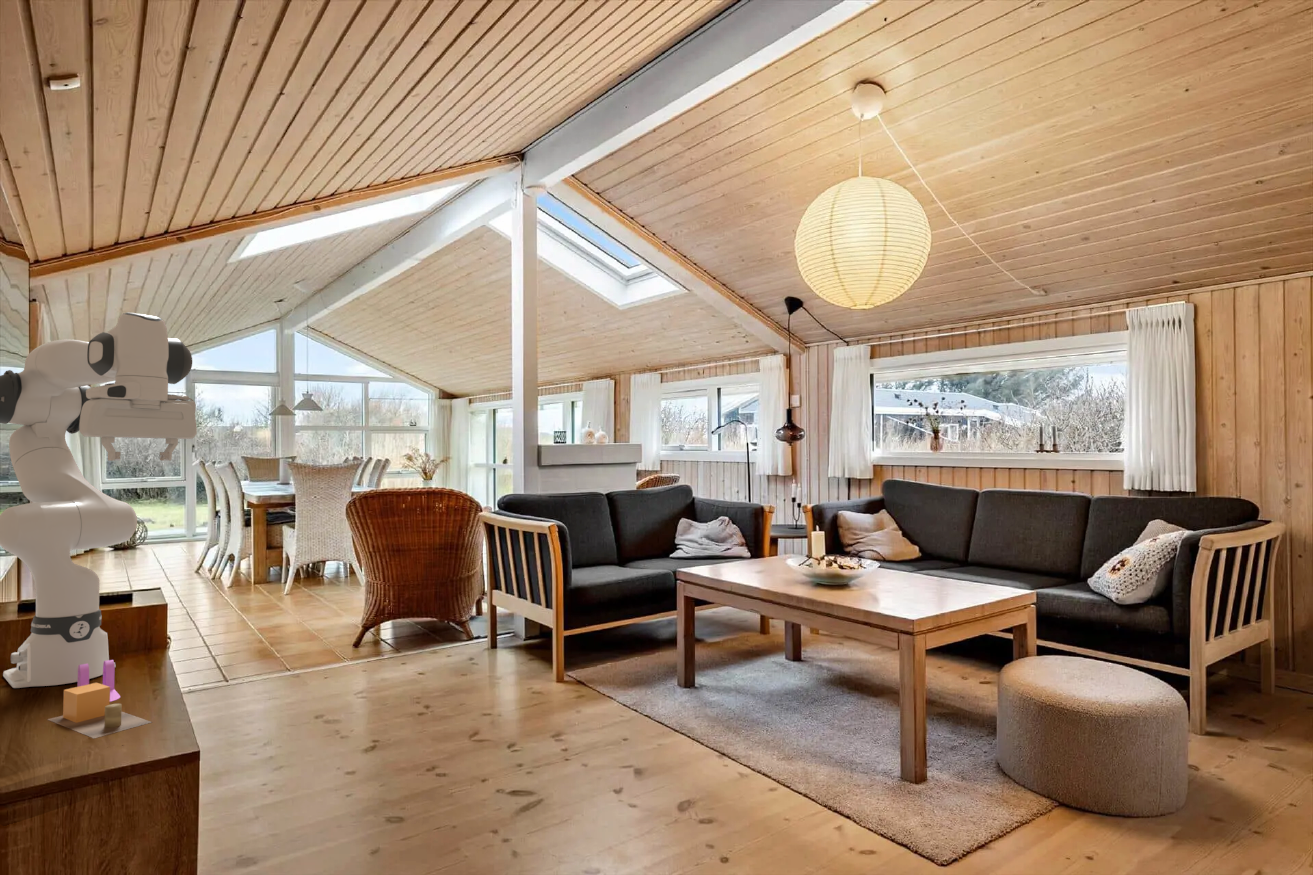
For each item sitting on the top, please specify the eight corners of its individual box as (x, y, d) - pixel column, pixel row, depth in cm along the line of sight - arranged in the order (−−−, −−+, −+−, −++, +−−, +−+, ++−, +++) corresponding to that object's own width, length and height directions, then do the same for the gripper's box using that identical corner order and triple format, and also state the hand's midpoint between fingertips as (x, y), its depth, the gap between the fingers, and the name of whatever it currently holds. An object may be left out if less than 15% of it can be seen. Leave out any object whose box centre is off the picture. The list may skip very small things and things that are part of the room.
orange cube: (63, 717, 136) (63, 689, 136) (96, 709, 140) (96, 682, 140) (76, 722, 133) (76, 694, 133) (109, 714, 138) (110, 686, 138)
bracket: (77, 697, 152) (77, 663, 152) (110, 691, 155) (111, 658, 156) (87, 713, 142) (88, 676, 143) (122, 706, 146) (123, 670, 146)
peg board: (46, 726, 135) (47, 699, 135) (104, 711, 143) (104, 686, 143) (93, 745, 126) (94, 717, 126) (152, 729, 133) (152, 702, 134)
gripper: (187, 396, 162) (186, 460, 161) (76, 389, 144) (74, 460, 144) (203, 395, 159) (202, 460, 158) (91, 387, 141) (89, 460, 141)
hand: (140, 460), depth 151 cm, fingers open, 8 cm apart
